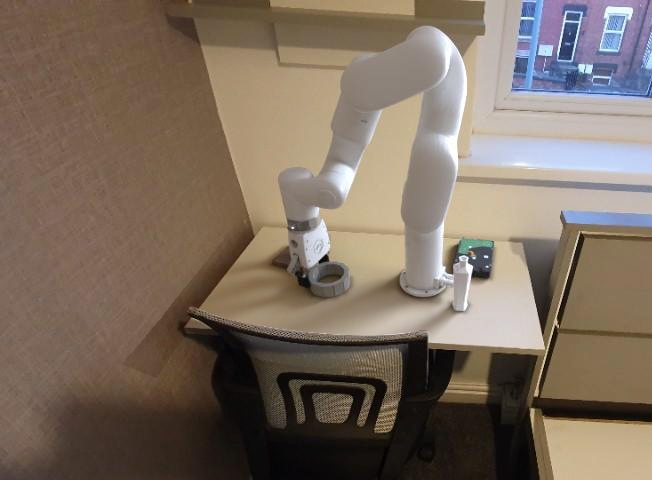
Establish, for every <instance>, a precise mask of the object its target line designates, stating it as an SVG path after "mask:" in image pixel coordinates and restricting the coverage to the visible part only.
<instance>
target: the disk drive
mask: <svg viewBox="0 0 652 480" xmlns="http://www.w3.org/2000/svg"><path fill="white" fill-rule="evenodd" d="M457 246H458V247H457V251H456V255H455V259H454V262H453V265H454V264H457V263H459V260H460V259H459V257H460V256H463V255H464V256H466V257H468V264H469V265H471V266H473V269H472V274H471V277H476V278H486V279H487V278H488V279H490V278H491V275H492V274H491V273H492V264H493V257H494V255H493V254H494V248H495V240H489V239H482V238H469V237H464V236H463V237H462V236H461V238H460V239H459V241H458V245H457Z"/></svg>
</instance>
